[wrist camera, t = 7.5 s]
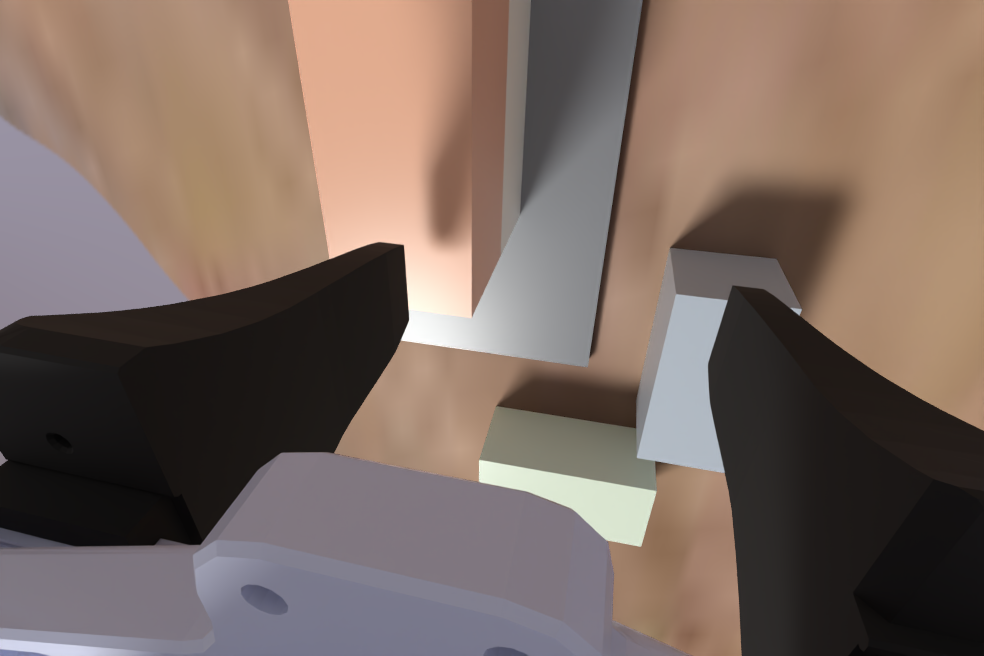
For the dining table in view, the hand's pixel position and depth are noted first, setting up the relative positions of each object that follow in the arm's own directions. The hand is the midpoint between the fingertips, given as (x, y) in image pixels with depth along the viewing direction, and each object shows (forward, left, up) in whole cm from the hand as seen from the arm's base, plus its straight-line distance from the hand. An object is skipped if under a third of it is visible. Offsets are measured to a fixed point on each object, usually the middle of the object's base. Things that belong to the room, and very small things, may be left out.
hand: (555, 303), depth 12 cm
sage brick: (+9, +12, -11) cm, 18 cm away
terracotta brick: (+2, -5, -6) cm, 7 cm away
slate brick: (0, +9, -11) cm, 14 cm away
